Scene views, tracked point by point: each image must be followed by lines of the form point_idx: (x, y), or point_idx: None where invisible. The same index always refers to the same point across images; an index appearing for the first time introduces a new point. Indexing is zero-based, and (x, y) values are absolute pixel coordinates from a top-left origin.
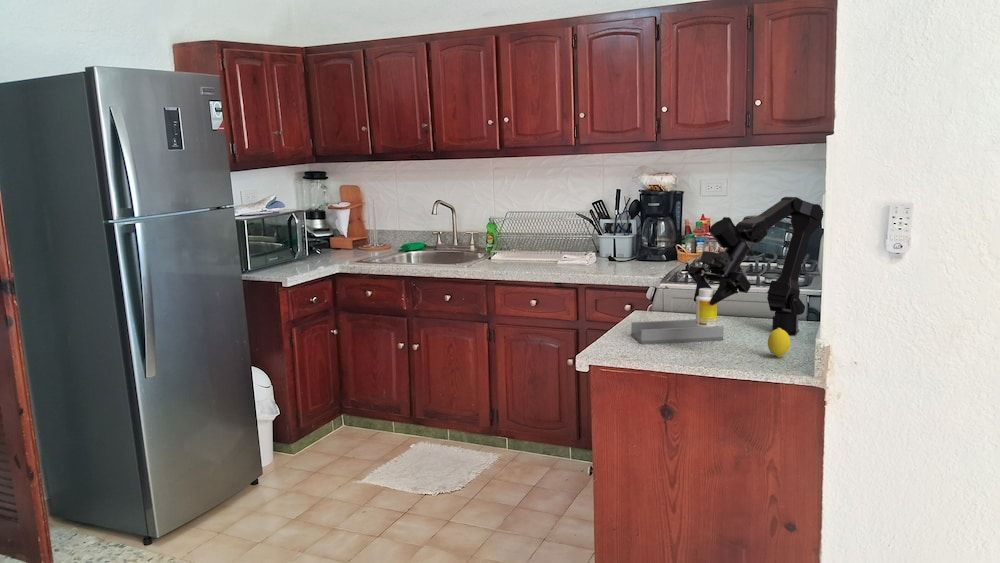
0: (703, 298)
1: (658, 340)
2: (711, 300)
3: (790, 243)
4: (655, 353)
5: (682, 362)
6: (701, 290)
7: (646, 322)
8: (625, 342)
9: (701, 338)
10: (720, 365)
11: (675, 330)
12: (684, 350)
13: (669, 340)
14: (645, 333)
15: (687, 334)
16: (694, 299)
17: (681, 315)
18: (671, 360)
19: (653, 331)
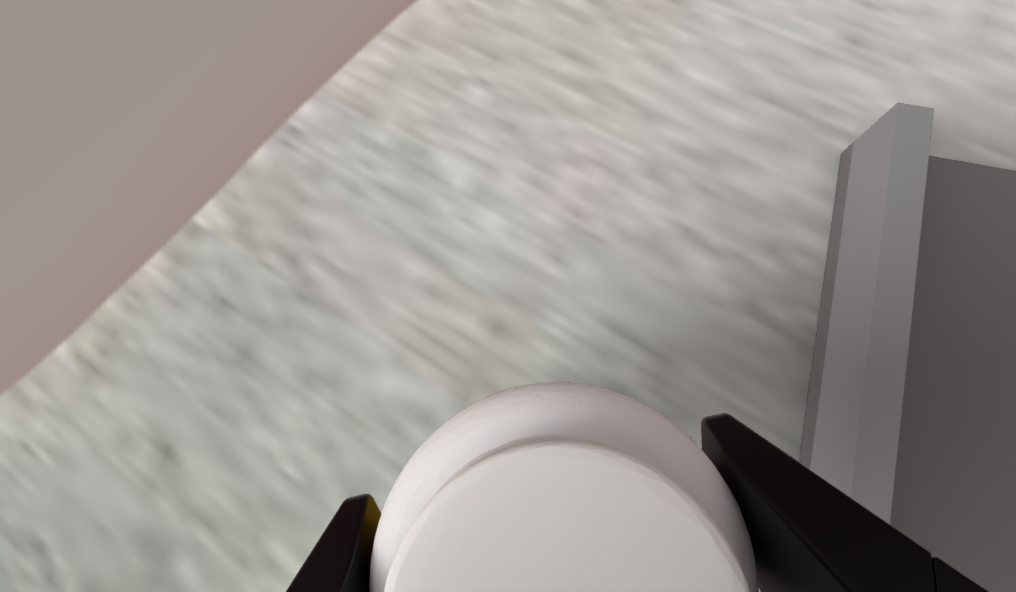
0: (447, 434)
1: (835, 257)
2: (342, 532)
3: None
4: (586, 126)
5: (338, 169)
6: (521, 448)
7: None
8: (928, 83)
9: None
10: (181, 331)
11: (858, 380)
12: (582, 327)
13: (824, 340)
14: (879, 141)
15: None
16: (707, 417)
17: None
18: (404, 135)
19: (880, 197)
